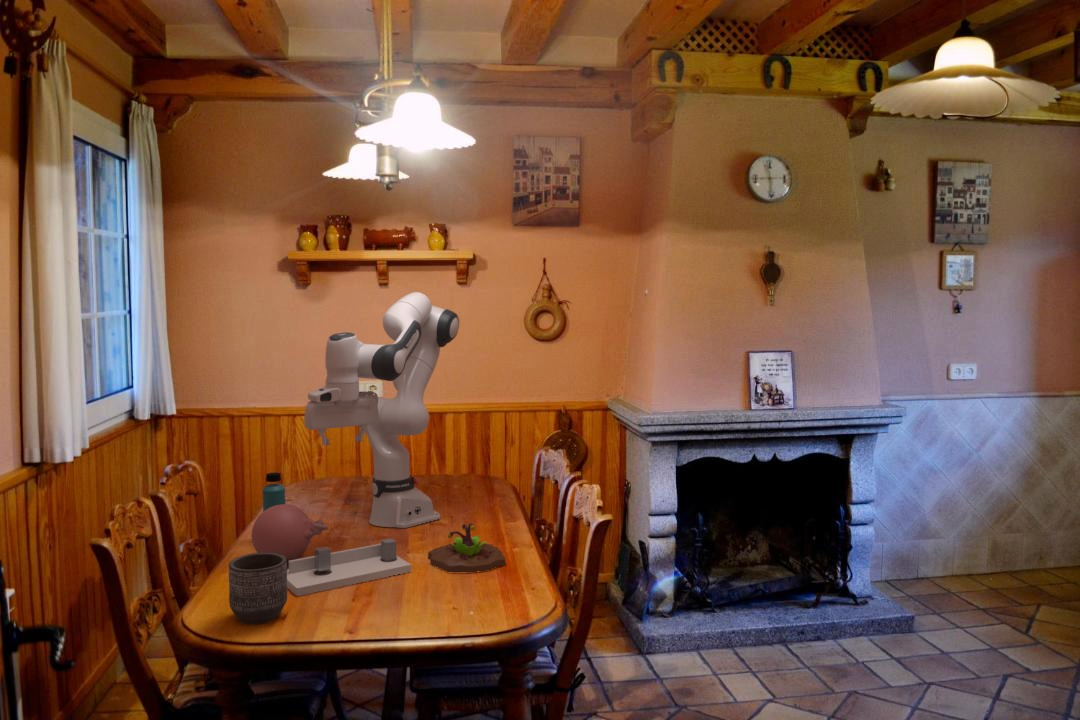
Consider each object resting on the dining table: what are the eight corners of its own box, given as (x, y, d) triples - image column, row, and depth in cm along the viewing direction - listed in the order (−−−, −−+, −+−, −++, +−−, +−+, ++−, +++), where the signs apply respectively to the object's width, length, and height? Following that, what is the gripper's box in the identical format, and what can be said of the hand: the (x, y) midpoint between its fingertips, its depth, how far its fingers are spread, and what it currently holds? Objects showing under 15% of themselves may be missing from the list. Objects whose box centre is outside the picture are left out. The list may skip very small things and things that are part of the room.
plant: (447, 579, 205) (448, 536, 204) (420, 557, 222) (420, 517, 221) (517, 567, 214) (517, 526, 213) (485, 546, 231) (485, 508, 230)
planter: (252, 603, 186) (251, 549, 185) (298, 610, 183) (297, 555, 182) (217, 624, 175) (216, 566, 174) (265, 631, 171) (264, 573, 170)
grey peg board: (387, 557, 220) (387, 532, 219) (411, 572, 208) (411, 545, 208) (278, 579, 202) (277, 551, 202) (297, 596, 191) (296, 567, 190)
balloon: (318, 573, 207) (317, 514, 206) (242, 570, 208) (241, 512, 207) (336, 553, 222) (336, 499, 221) (265, 551, 223) (264, 497, 222)
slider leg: (324, 565, 205) (324, 544, 205) (330, 570, 201) (330, 549, 201) (312, 567, 203) (312, 547, 203) (319, 573, 200) (318, 551, 199)
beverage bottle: (279, 545, 229) (278, 476, 227) (258, 543, 230) (257, 475, 228) (290, 538, 235) (290, 471, 233) (270, 537, 236) (269, 470, 235)
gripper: (373, 389, 227) (373, 437, 228) (301, 393, 215) (302, 444, 216) (382, 391, 222) (382, 441, 223) (310, 396, 210) (310, 448, 211)
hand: (342, 443), depth 219 cm, fingers open, 8 cm apart
